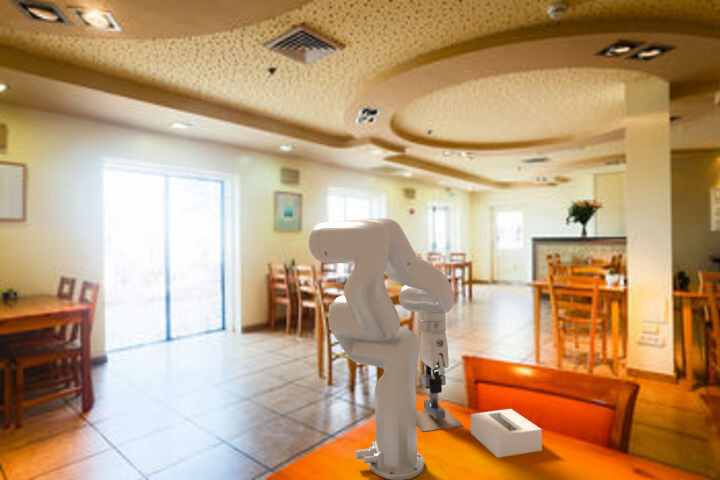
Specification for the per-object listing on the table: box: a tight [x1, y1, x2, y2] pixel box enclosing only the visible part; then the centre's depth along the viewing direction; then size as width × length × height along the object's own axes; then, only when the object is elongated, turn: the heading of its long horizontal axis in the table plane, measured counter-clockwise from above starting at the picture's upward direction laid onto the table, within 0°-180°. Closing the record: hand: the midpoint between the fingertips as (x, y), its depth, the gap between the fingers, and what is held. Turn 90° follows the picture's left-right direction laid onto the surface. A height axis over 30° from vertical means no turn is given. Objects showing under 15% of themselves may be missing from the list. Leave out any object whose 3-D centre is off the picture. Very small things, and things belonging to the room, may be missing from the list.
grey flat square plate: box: [416, 407, 464, 433], centre depth 111 cm, size 12×12×1 cm
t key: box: [421, 373, 447, 419], centre depth 111 cm, size 8×6×10 cm
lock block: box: [470, 408, 543, 458], centre depth 98 cm, size 12×12×6 cm
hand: (433, 389), depth 111 cm, fingers closed on t key, 3 cm apart
